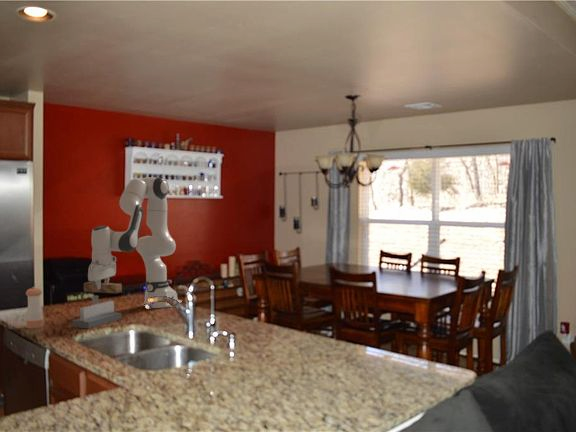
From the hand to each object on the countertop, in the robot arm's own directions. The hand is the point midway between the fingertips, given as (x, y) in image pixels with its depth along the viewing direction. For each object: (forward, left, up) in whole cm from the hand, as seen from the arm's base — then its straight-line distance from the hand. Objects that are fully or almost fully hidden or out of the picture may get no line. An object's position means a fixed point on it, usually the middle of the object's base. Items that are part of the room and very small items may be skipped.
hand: (102, 287), depth 268 cm
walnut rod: (0, 0, -2) cm, 2 cm away
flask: (-13, -18, -18) cm, 28 cm away
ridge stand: (0, -4, -17) cm, 18 cm away
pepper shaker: (+17, -27, -17) cm, 36 cm away
